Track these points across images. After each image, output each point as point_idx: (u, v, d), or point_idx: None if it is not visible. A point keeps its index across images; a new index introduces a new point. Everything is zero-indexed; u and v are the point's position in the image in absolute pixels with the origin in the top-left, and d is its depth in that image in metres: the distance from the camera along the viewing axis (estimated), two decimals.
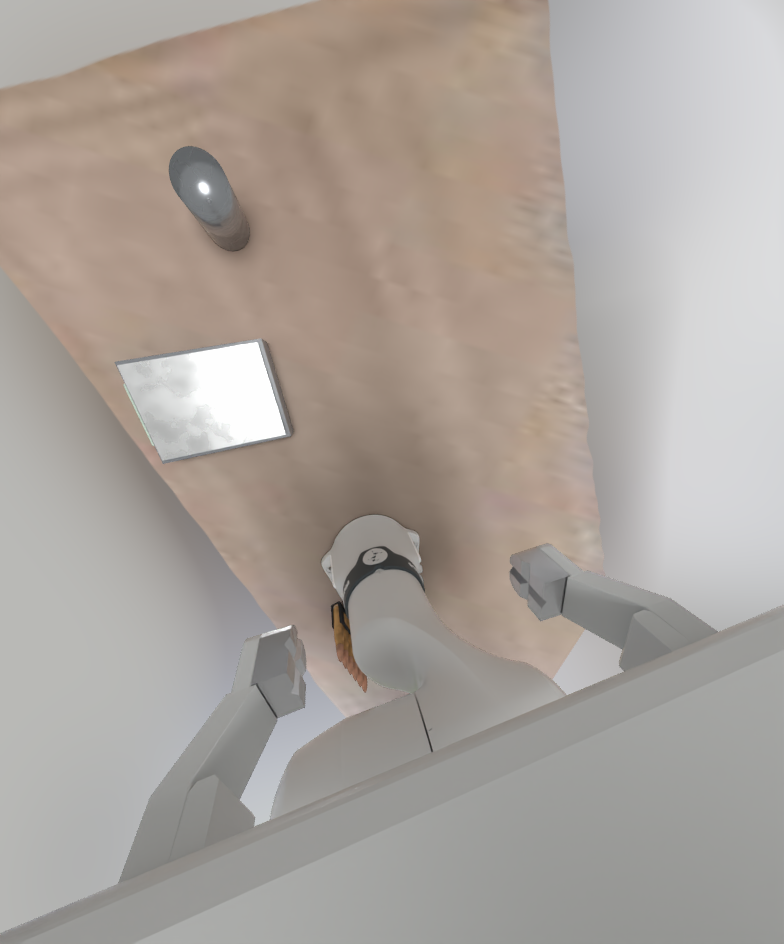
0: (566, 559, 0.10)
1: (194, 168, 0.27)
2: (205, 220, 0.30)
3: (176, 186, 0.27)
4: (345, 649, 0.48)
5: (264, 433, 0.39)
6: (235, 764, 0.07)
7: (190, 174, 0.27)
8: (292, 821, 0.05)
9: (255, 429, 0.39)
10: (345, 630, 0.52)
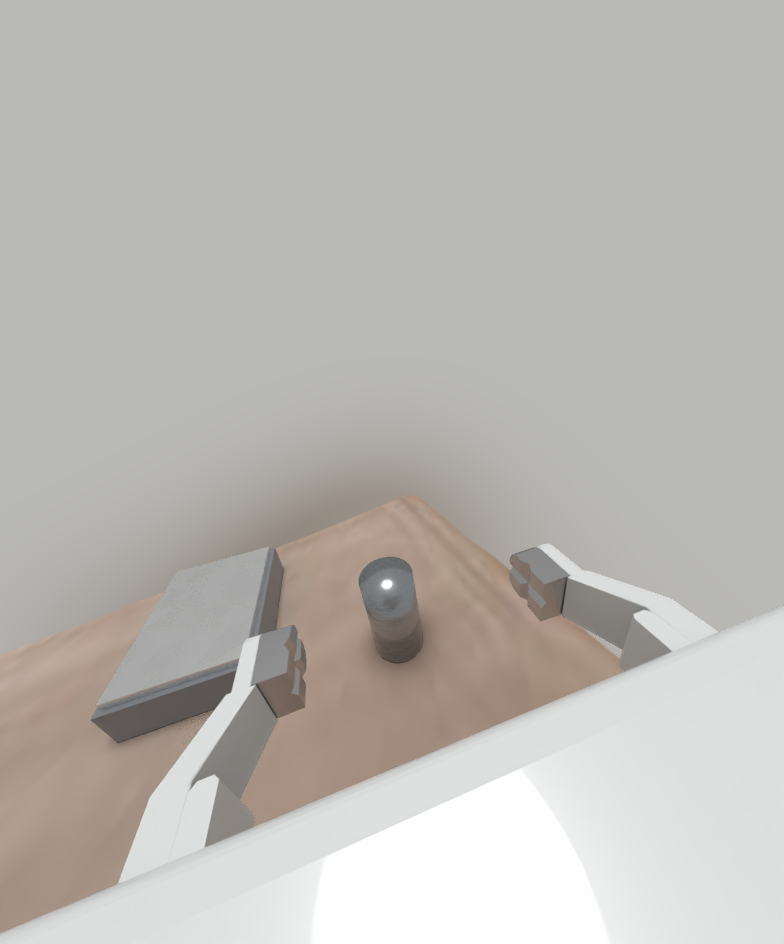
0: (566, 559, 0.10)
1: (394, 572, 0.26)
2: None
3: (377, 561, 0.28)
4: None
5: (124, 670, 0.26)
6: (235, 764, 0.07)
7: (388, 569, 0.27)
8: (292, 821, 0.05)
9: (138, 657, 0.27)
10: None
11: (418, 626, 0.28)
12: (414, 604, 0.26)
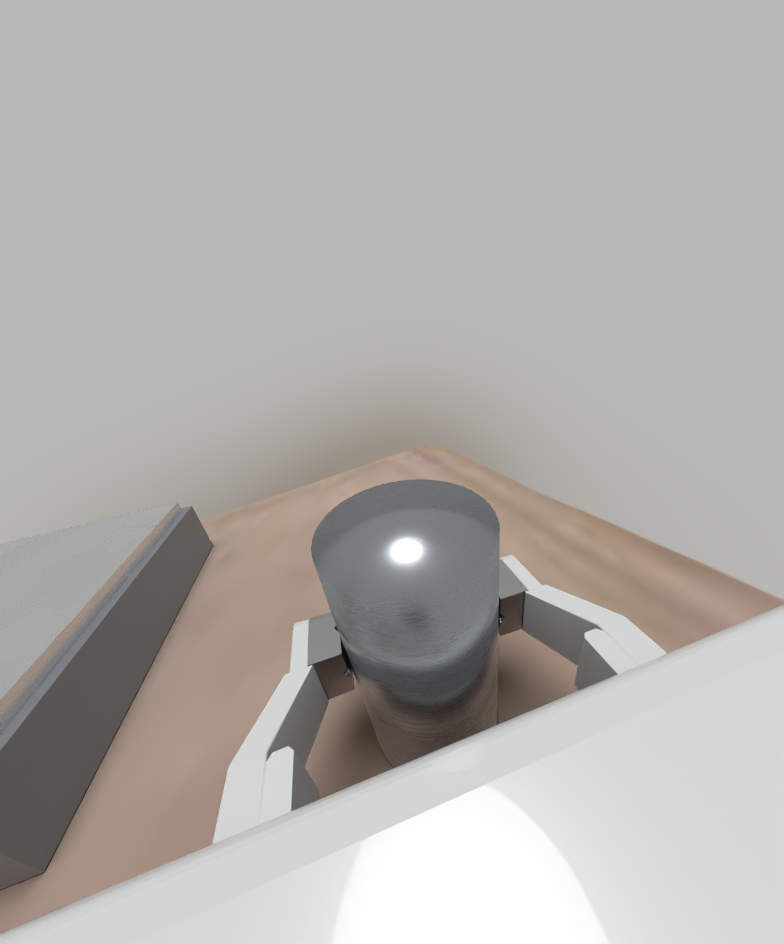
0: (526, 572, 0.09)
1: (431, 512, 0.08)
2: None
3: (375, 490, 0.10)
4: None
5: None
6: (298, 740, 0.07)
7: (411, 507, 0.08)
8: (292, 821, 0.05)
9: None
10: None
11: (497, 681, 0.09)
12: (497, 618, 0.08)
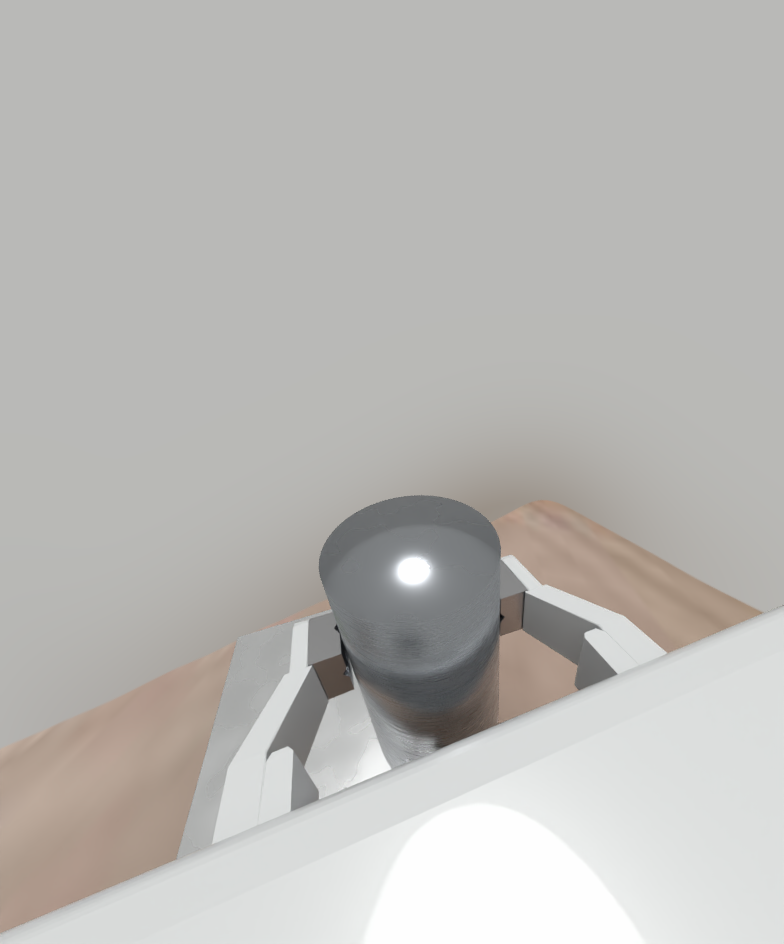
0: (526, 572, 0.09)
1: (434, 531, 0.08)
2: None
3: (379, 506, 0.10)
4: None
5: None
6: (298, 740, 0.07)
7: (415, 524, 0.09)
8: (292, 821, 0.05)
9: None
10: None
11: (498, 692, 0.10)
12: (498, 632, 0.08)
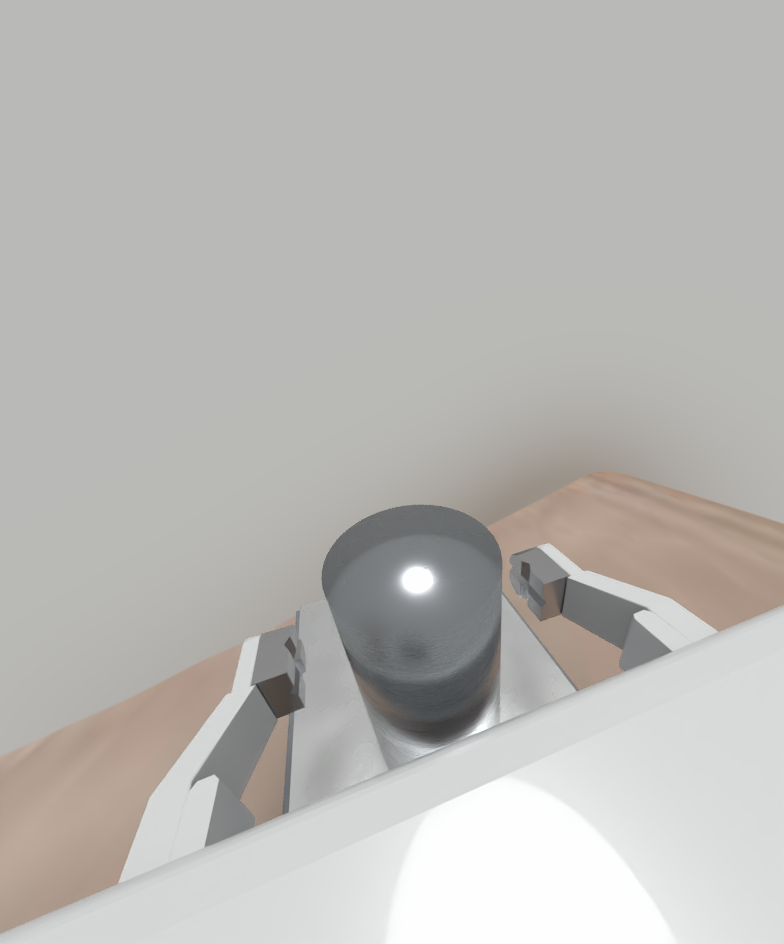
0: (566, 559, 0.10)
1: (436, 542, 0.08)
2: None
3: (381, 516, 0.10)
4: None
5: None
6: (235, 764, 0.07)
7: (417, 535, 0.09)
8: (292, 821, 0.05)
9: None
10: None
11: (499, 701, 0.10)
12: (500, 643, 0.08)
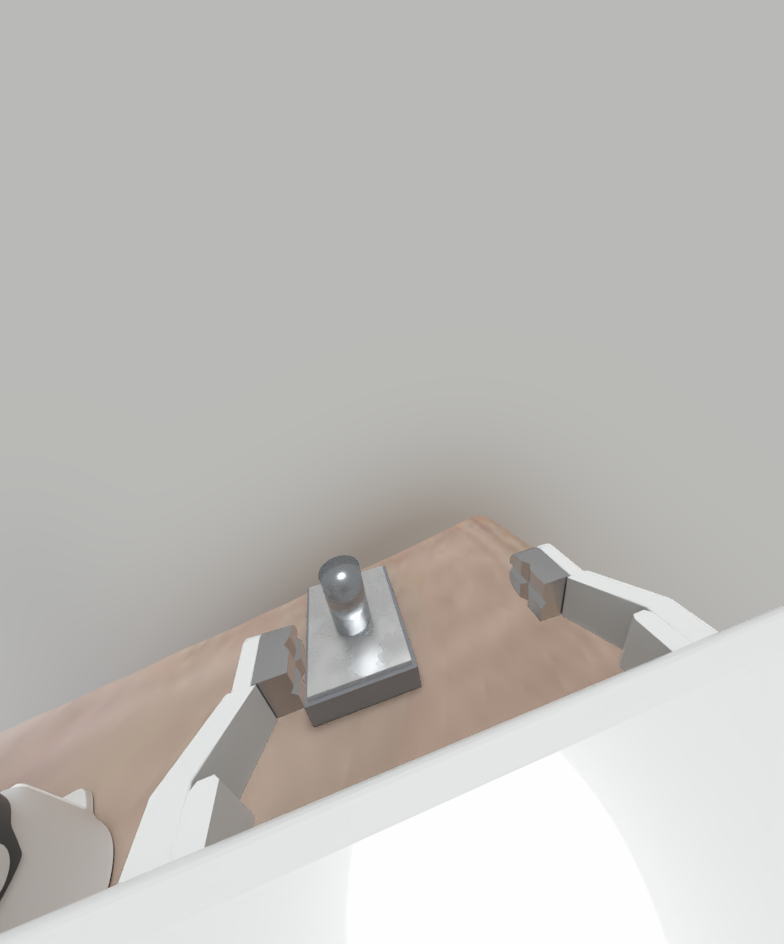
0: (566, 559, 0.10)
1: (346, 567, 0.35)
2: None
3: (335, 558, 0.37)
4: None
5: (313, 670, 0.34)
6: (235, 764, 0.07)
7: (342, 565, 0.36)
8: (292, 821, 0.05)
9: (320, 660, 0.34)
10: None
11: (364, 609, 0.37)
12: (359, 592, 0.35)
